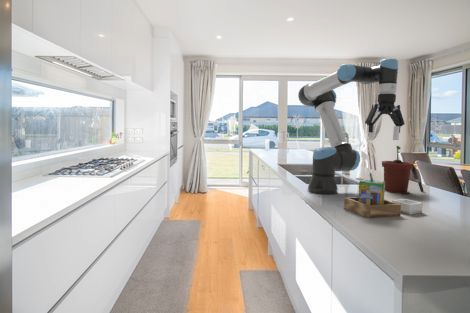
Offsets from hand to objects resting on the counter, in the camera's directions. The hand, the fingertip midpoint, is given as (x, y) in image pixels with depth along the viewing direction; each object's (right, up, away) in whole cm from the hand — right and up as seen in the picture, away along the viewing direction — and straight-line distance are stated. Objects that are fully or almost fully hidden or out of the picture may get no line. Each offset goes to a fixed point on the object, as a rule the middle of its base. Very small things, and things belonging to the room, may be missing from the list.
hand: (383, 140), depth 149 cm
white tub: (+2, -30, -16) cm, 35 cm away
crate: (-14, -30, -19) cm, 38 cm away
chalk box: (-14, -29, -19) cm, 38 cm away
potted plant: (+22, -27, +27) cm, 44 cm away
